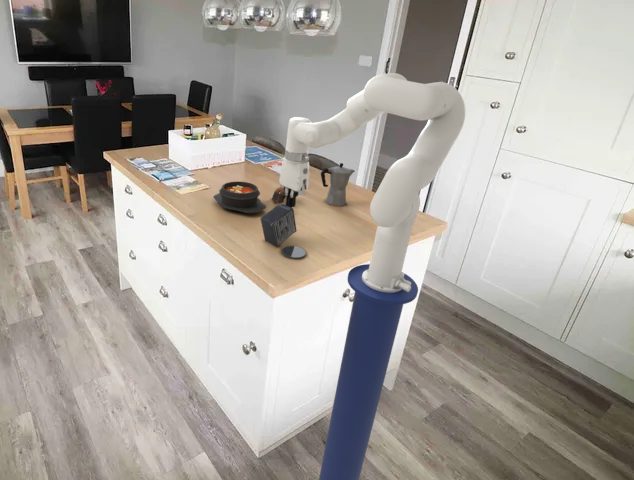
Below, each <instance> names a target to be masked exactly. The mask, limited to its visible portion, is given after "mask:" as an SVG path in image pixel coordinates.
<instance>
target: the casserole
mask: <svg viewBox="0 0 634 480" xmlns="http://www.w3.org/2000/svg"><path fill="white" fill-rule="evenodd" d="M260 195H261V192H260V190H259V187H258V185H256V184H254V183H251V182H247V181H229V182H226V183H223V184H222V186H221V188H220V189H219V192H218V193H216V194H215V195H213V197H212V198H213V199H214V200H215V201H216V203H217V204H218V205H219V206H220V207H222V208H223V209H227V210H229V211H230V210H231V211H235V212H241V213H245V214H254V213H255V214H256V213H259V212H262V211H264V210H266V208H267V205H266V204H264V203H263V202H262V200H261V199H260V198H259V196H260Z"/></svg>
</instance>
